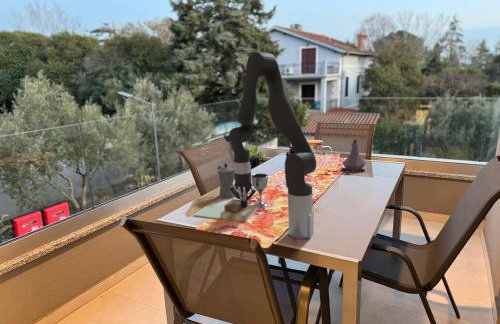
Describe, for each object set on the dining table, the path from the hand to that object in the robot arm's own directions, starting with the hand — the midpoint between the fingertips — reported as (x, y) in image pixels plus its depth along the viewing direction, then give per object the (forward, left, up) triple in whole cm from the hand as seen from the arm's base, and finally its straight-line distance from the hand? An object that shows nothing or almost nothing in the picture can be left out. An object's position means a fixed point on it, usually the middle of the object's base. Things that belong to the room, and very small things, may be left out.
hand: (244, 207), depth 154 cm
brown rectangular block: (+5, 0, 0) cm, 5 cm away
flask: (-39, -96, -4) cm, 104 cm away
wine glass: (-2, -15, -4) cm, 16 cm away
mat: (+16, 0, -4) cm, 16 cm away
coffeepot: (+21, -23, -4) cm, 31 cm away
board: (+3, 0, -4) cm, 5 cm away
